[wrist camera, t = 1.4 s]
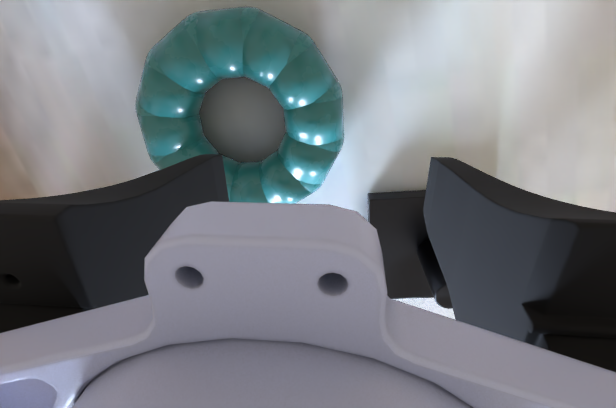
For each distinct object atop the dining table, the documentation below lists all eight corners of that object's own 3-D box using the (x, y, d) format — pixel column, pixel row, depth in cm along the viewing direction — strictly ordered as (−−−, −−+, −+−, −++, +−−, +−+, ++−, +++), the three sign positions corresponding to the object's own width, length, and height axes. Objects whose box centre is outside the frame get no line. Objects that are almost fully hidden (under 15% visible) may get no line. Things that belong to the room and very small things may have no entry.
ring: (179, 205, 25) (159, 229, 22) (128, 19, 20) (95, 19, 17) (345, 195, 24) (348, 219, 21) (337, -1, 19) (339, -5, 16)
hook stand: (368, 290, 27) (378, 350, 22) (367, 193, 24) (378, 238, 19) (480, 286, 26) (515, 347, 22) (495, 185, 23) (542, 230, 18)
